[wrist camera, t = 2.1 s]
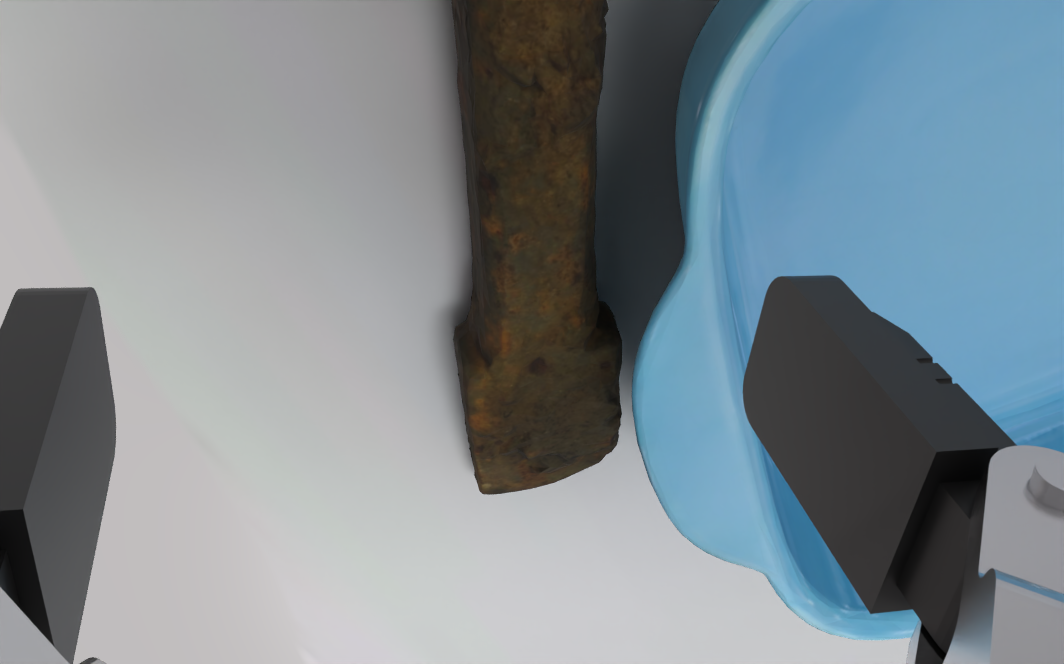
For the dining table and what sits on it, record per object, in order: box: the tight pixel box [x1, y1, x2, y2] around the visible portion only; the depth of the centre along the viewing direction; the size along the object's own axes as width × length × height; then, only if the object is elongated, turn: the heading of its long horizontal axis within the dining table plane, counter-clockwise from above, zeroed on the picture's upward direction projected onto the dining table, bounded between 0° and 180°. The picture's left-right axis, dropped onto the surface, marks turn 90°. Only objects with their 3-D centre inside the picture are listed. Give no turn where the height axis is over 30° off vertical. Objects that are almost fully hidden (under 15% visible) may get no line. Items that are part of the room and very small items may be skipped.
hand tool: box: [451, 0, 622, 494], centre depth 24 cm, size 19×4×5 cm
